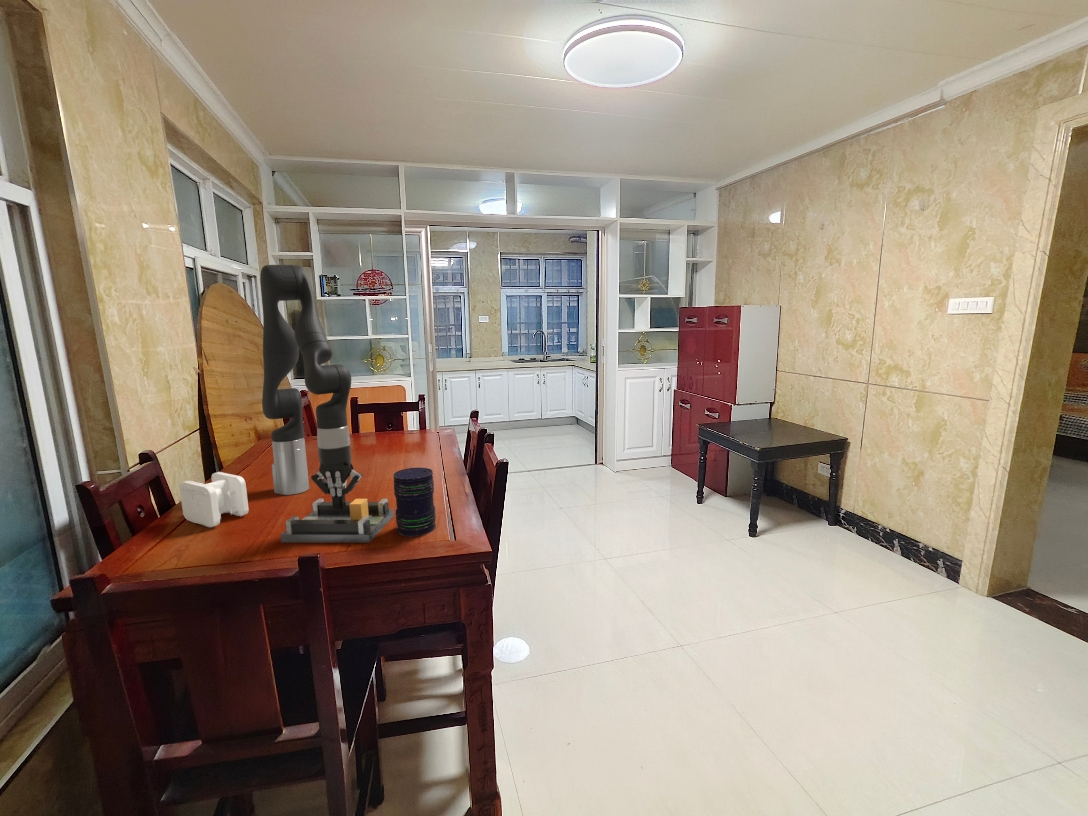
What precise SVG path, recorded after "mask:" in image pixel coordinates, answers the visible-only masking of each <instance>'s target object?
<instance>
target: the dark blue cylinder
mask: <svg viewBox="0 0 1088 816" xmlns="http://www.w3.org/2000/svg"><path fill="white" fill-rule="evenodd" d="M433 475H434V473H433V470H432V469H431V468H428V467H410V468H409V467H408V468H403V469H400V470H397V471H395V472H394V473H393V490H394V491H393V495H394V497H395V501H396V503H395V504H396V509H395V521H396V526H397V528H396V529H397V530H396V531H397V534H399V535H400V536H404V537H420V536H419V535H421V536H424V534H425V535H428V534H430V533H433V532H434V531H435V529H436V528H437V525H436V518H437V517H436V515H437V514H436V506H435V505H434V504H435V502H434V493H435V487H434V486H435V482H434V476H433ZM427 533H428V534H427Z"/></svg>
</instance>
